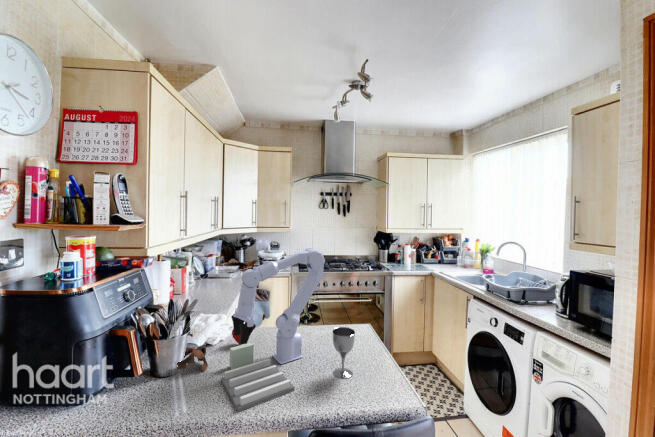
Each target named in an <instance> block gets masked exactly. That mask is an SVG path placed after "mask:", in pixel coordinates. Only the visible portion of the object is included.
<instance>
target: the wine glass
mask: <svg viewBox="0 0 655 437" xmlns="http://www.w3.org/2000/svg"><path fill="white" fill-rule="evenodd" d="M331 335H332V343H333V347H334V349H335V351H336V352H337V353H338V354H339V356H340V359H341V367H338V368H335V369H334V370H333V371H332V374H333V376H334V377H335V378H337V379H340V380H348V379H350V378H352V377H353V376H354V375H353V373H354V372H353V371H352V370H351V369H349V368H347V367H345V360H346V357H347V355H348V354H349V353H351V351H352V349H353V348H354V346H355V340H356V331H355V329H353V328H351V327H346V326H340V327H334V329H333V330H332V334H331Z"/></svg>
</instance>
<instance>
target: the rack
mask: <svg viewBox="0 0 655 437" xmlns="http://www.w3.org/2000/svg"><path fill="white" fill-rule="evenodd" d="M220 381H221V384H222V385H223V387H224V388H225V389H224V390H225V391H226V393H227V394H228V396H229V397H230V399H231V402H232V403H233V405H234V407H235V408H236V410H237V412H238V413H239V412H242V411H244V410H248V409H249V408H252V407H255V406H258V405H260V404H263V403H265V402H267V401H270V400H273V399H275V398H279V397H280V396H283V395H286V394H288V393H291V392H294V391H295V385H293V384H292V383H291V382H292V380H290V379H288V378H286V376H285V375H284V372H283V371H280V370H279V369H278V366H277V365H276V364H273V363H272V362H271V359H270V358H267V359H263V360H260V361H256V362H253V364H249V365H246V366H243V367H239V368H236V369H233V370H232V369H230V370H226V371H224V376H222V377H221V378H220Z"/></svg>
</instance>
